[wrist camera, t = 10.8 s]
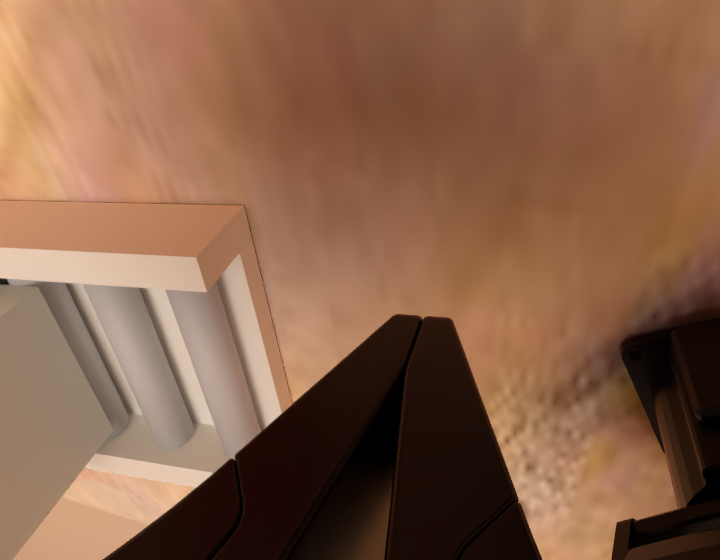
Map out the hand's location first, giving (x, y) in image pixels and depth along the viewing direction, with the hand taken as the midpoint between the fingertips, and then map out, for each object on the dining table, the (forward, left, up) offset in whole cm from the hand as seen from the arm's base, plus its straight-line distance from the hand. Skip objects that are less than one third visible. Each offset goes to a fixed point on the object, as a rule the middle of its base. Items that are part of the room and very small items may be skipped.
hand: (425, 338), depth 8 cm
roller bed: (-1, +23, -12) cm, 26 cm away
